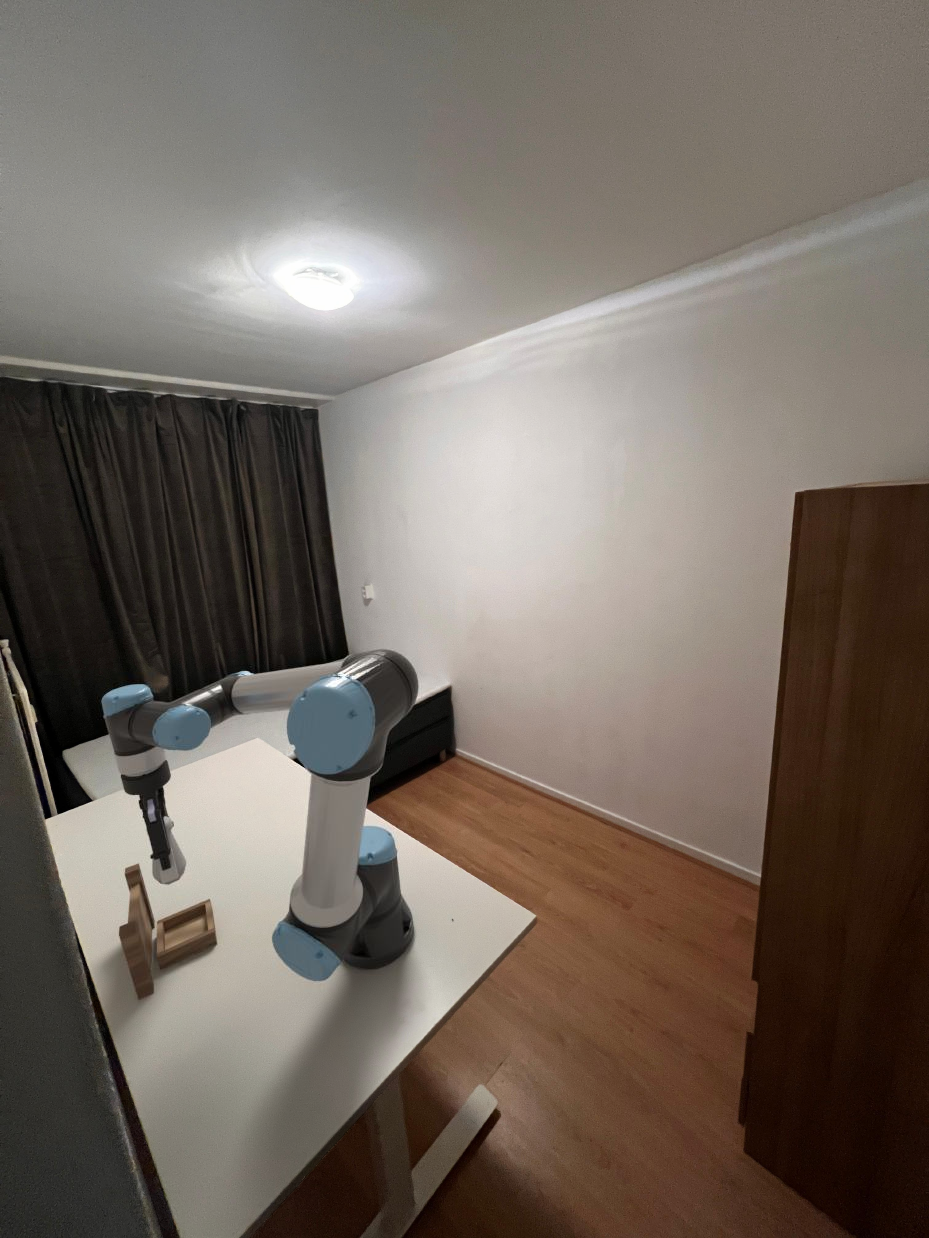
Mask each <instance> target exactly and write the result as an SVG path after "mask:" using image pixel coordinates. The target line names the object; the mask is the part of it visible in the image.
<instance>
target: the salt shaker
mask: <svg viewBox="0 0 929 1238" xmlns="http://www.w3.org/2000/svg"><path fill="white" fill-rule="evenodd" d="M172 821H173V820H172V818H171V817H170V816H169V817H166V816H164V822H165V826H166V831H167V836H168V840H169V845H170V847H171V848H172V852H173V856H174V860H175V864H176V868H177V872H178V878H177V879H174V880H172V881H169V882H167V883H164V884H162V881H161V877H160V873H159V869H158V865H157V862H156V860H154V858H153V859H151V860H152V862H151V863H152V864H151V865H152V866H151V868H152V869H151V870H152V871H151V872H152V877H153V879H154V880H156V881H157V883H159V884H161V885H172V884H173V883H176V882H177V881H180V879H181V877H182V876H183V875H184V873H185V870H186V867H187V860H186V858H185V856H184V854H183V851H182V849H181V848H180V846H179V844H178V842H177V840H176V838H175V836H174V834H173V832H172V829H173V823H174V822H173V823H172ZM146 834H147V835H148V832H147V828H146ZM151 852H152V853H151V854H153V851H151Z"/></svg>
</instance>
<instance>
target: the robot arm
mask: <svg viewBox="0 0 929 1238" xmlns="http://www.w3.org/2000/svg"><path fill="white" fill-rule="evenodd" d="M419 687H420V686H419V679H418V674H417V672H416V669H415V668H414V666H413V664H412V662H411V661H410V660H409V659H408V658H406V657H405V655H403V654H401V653H399V652H397V651H395V650H391V649H386V648H385V649H384V648H379V649H372V650H367V651H362V652H356V653H350V654H349V655H347V656H346V657H344V659H343V660H342V661H337V662H336V661H335V662H329V663H322V664H315V665H308V666H302V667H294V668H287V669H281V670H280V669H279V670H276V671H275V670H274V671H268V672H267V671H266V672H262V673H261V672H259V673H253V672H252V673H251V672H250V671H247V670H241V671H239V672H236V673H232V674H229V675H226V676H225V677H224V678H222V679H219V680H218V681H215V682H213V683H211V684H208V685H206V686H204V687H202V688H199V689H197V690H195V691H192V692H191V693H188V694H186V695H184V696H182V697H179V698H177V699H175V700H173V701H170V702H165V701H158V700H154V695H153V693H152V690H151V688H150V687H149V686H148V685H146V684H142V683H141V684H138V683H137V684H129V685H125V686H121V687H118V688H115V689H112V690H110V691H109V692H107V693H106V694H104V695H103V696H102V699H101V705H102V706H101V707H102V711H103V716H102V717H103V719H104V721H105V725H106V728H107V732H108V735H109V739H110V742H111V745H112V749H113V755H114V758H115V763H116V765H117V770H118V772H119V774H120V779H121V784H122V786H123V791H124V793H125V794H127V795H130V796H138V798H139V799H138V806H139V809H140V810H141V812H142V819H143V820H144V823H145V824H144V825H145V827H146V828H147V831H146V833H147V832H148V834H147V836H148V839H149V844H150V846H151V850H152V851H151V852H153V854H152V853H151V854H150V856H149V857H150V860H152V859H153V858H154V860H156V862H157V865H158V869H159V873H160V877H161V881H162V884H161V885H165V884H164V883H167V882H169V881H172V880H174V879H177V878H178V872H177V868H176V864H175V860H174V856H173V852H172V848H171V847H170V845H169V840H168V836H167V831H166V826H165V822H164V816H166V817H169V818H170V816H169V814H168V810H167V806H166V797H165V789H164V786H166V784H168V783H169V782H170V780H171V777H172V775H171V774H172V773H171V769H170V766H169V762H168V760H167V753H166V750H168V751H181V752H183V751H184V752H187V751H188V752H189V751H193V750H195V749H197V748H198V747H200V746H201V745H202V744H203V742H204V741H205V740H206V739H207V738H208V736H209V734H210V732H211V729H212V728H215V727H216V726H217V725H218V726H219V725H220V724H221V723H224V722H225V721H227V720H229V719H231V718H233V717H236V716H244V715H252V714H253V715H254V714H262V713H263V714H264V713H273V712H282V711H284V712H285V711H288V713H287V714H288V715H287V719H286V735H287V740H288V744H289V746H294V750H293V751H292V752H293V754H294V756H295V757H296V758H297V759H298V761H299V762H300V763H301V764H302V765H303V766H304V768H305V770H306V771H307V772H308V773H309V774H310V782H309V783H310V784H309V786H310V787H309V797H308V805H307V807H308V808H307V816H306V828H305V837H304V838H305V839H304V847H303V848H304V850H303V861H302V870H301V872H302V873H301V874H300V875H299V876H298V877H297V879H296V880H295V881H294V883H293V885H292V888H291V891H290V897H289V904H288V906H289V907H288V908H289V909H288V912H287V914H286V915H285V917H284V918H283V919H282V920H281V921H279V922H278V923H277V926H276V927H275V928H274V930H273V932H272V936H271V941H272V946H273V948H274V951H275V952H276V954H277V956H278V957H279V959H280V960H282V962H283V963H284V964H285V965H286V966H287V967H288V968H289V969H290V970H291V971H293V972H294V973H295V974H297V975H298V976H300V977H302V978H303V979H306V980H308V981H311V982H322V981H323V982H324V981H326V980H328V979H329V978H331V976H332V975H333V974H334V973H335V971H336V970H337V968H338V967H340V966H341V965H342V961H343V960H344V961H346V963H347V964H349V965H350V966H352V967H354V968H358V969H362V970H363V969H364V970H372V969H373V970H374V969H379V968H382V967H385V966H387V965H389V964H392V962H394V961H396V960H397V959H398V958H399V957H401V956H402V955H403V954H404V953H405V951H407V949H408V948H409V946H410V944H411V942H412V939H413V936H414V931H415V929H414V928H415V926H414V919H413V918H414V917H413V914H412V911H411V908H410V907H409V905H408V904H407V900H405V898H404V896H403V894H402V890H401V881H400V872H399V871H400V869H399V862H398V848H397V846H396V841H395V838H394V836H393V834H392V833H391V832H390V831H389V830H387V829H386V828H383V827H380V826H376V825H364V824H365V819H366V810H367V804H368V798H369V791H370V782H371V778H372V777H373V776H374V775H375V774H376V773H378V772H379V770H381V768H382V766H383V764H384V761H385V760H384V759H385V753H386V748H387V747H386V746H387V742H388V741H387V740H388V736H389V734H390V731H391V730H392V729H393V728H394V727H395V726H396V725H397V724H399V722H400V721H401V720H402V719H404V718H405V717H406V716H407V715H408V713H410V711H412V709H413V707H414V706H415V703H416V701H417V698H418V695H419V689H420V688H419ZM172 823H173V827H175V825H174V821H173V820H172ZM173 827H172V828H173Z"/></svg>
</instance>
